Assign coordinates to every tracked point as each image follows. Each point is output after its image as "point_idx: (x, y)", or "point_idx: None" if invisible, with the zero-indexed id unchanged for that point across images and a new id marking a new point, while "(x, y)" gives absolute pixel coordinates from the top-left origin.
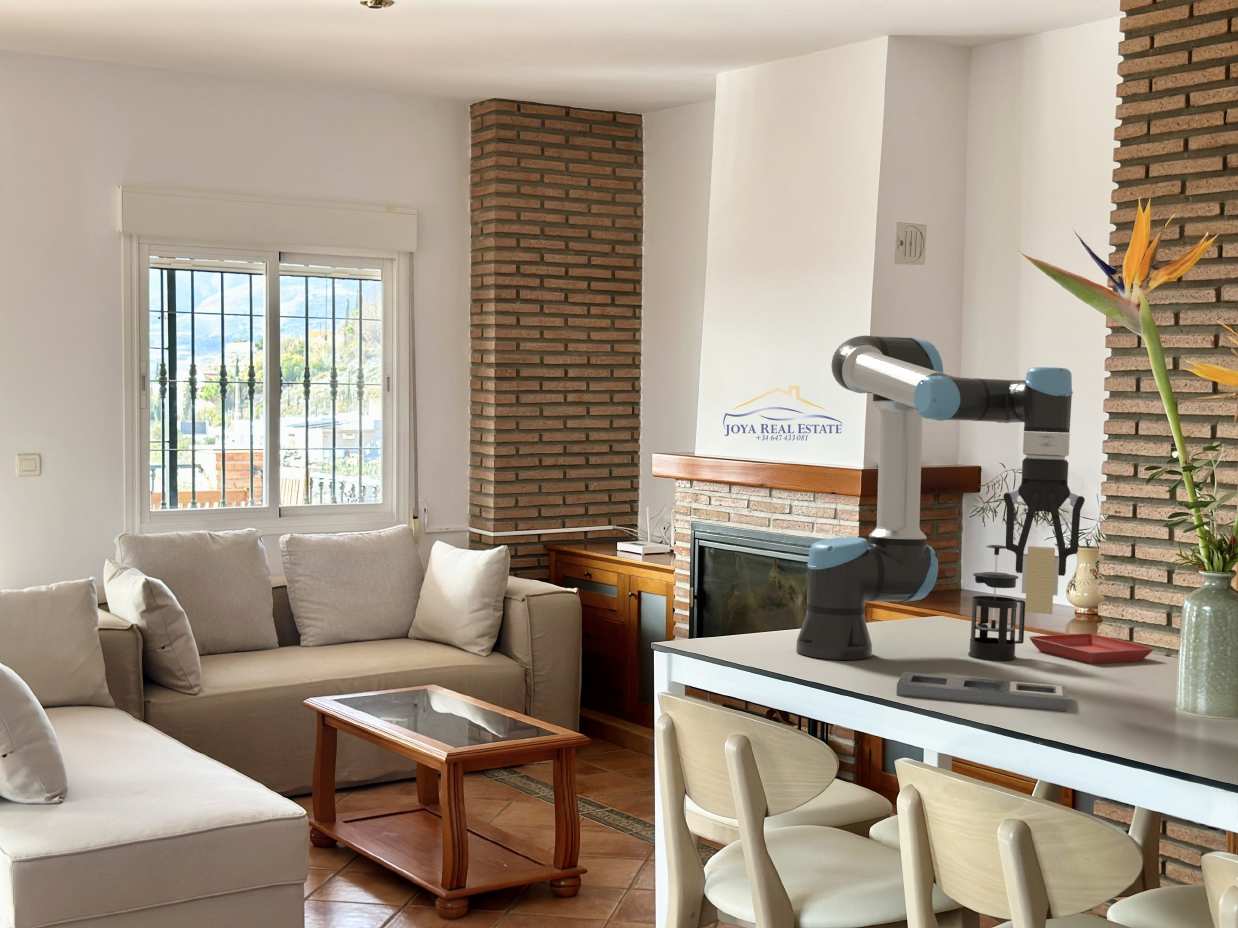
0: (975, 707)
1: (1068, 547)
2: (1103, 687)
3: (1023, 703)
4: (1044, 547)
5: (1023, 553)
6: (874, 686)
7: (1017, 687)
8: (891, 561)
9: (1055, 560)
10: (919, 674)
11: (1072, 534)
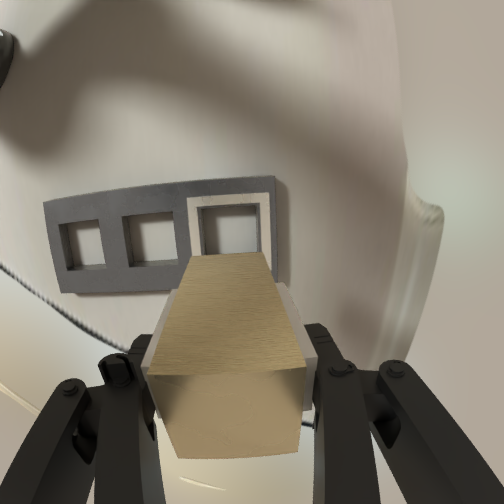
0: (161, 312)
1: (371, 398)
2: (324, 68)
3: None
4: (246, 396)
5: (154, 411)
6: (35, 247)
7: (201, 230)
8: None
9: None
10: (62, 209)
11: (398, 475)
